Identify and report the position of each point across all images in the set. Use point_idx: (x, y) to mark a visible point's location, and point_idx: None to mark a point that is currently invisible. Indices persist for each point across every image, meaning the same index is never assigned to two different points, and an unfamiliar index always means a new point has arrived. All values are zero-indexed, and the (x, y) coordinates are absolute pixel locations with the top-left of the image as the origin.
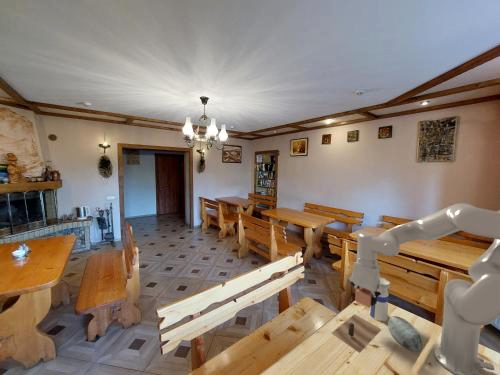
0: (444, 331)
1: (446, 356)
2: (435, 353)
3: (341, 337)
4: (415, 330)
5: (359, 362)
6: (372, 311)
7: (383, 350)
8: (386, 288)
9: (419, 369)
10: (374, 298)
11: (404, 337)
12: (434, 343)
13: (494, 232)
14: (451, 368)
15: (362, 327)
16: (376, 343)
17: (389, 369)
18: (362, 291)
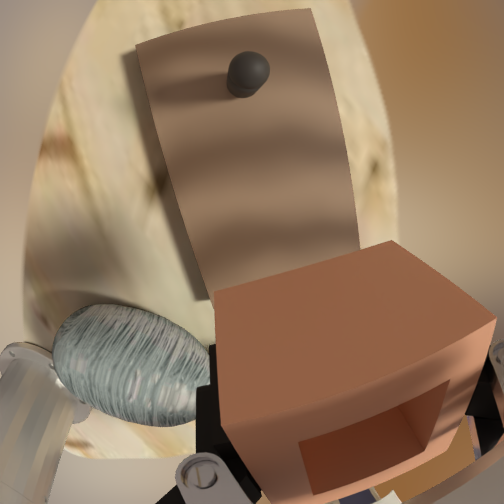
0: (10, 447)
1: (25, 376)
2: None
3: (259, 29)
4: (84, 401)
5: (118, 29)
6: None
7: (121, 203)
8: None
9: (26, 261)
10: (208, 442)
11: (75, 330)
12: None
13: None
14: (17, 351)
15: (267, 219)
16: (166, 208)
17: (45, 138)
18: (408, 405)
